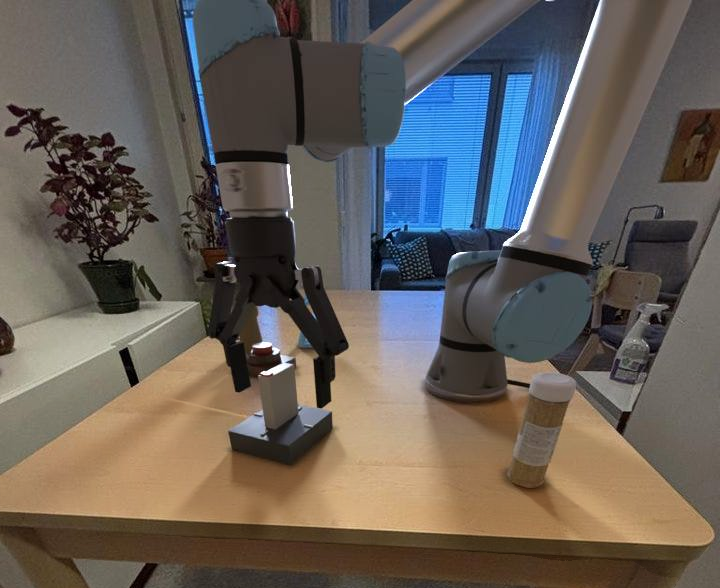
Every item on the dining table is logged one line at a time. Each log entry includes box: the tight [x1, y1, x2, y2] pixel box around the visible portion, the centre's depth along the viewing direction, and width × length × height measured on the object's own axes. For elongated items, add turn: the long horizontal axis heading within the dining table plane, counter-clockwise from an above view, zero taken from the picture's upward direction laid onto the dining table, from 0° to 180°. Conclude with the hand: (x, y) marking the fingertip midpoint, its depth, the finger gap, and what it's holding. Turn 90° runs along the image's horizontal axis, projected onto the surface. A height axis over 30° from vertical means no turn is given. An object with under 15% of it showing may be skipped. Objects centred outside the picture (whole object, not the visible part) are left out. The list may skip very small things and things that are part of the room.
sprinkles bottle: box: [507, 371, 578, 489], centre depth 47 cm, size 5×5×13 cm
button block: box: [246, 346, 297, 379], centre depth 83 cm, size 10×9×4 cm
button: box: [252, 341, 273, 355], centre depth 82 cm, size 4×4×2 cm
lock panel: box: [227, 403, 334, 466], centre depth 58 cm, size 10×12×3 cm
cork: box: [239, 306, 264, 354], centre depth 93 cm, size 6×6×11 cm
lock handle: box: [257, 363, 299, 430], centre depth 55 cm, size 6×2×8 cm, turn 155°
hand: (282, 396), depth 55 cm, fingers open, 13 cm apart
